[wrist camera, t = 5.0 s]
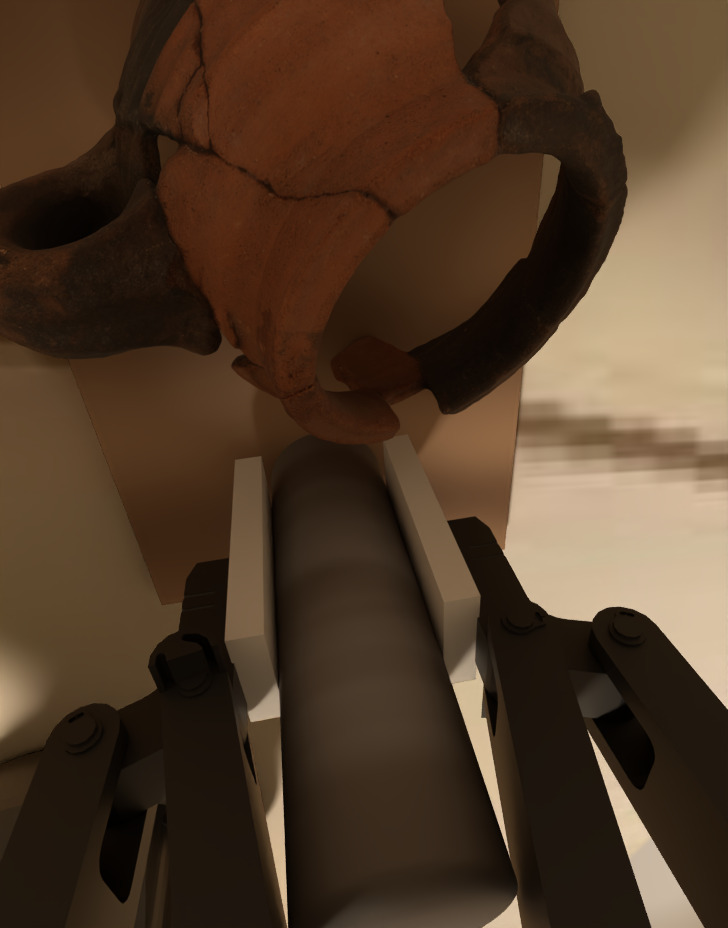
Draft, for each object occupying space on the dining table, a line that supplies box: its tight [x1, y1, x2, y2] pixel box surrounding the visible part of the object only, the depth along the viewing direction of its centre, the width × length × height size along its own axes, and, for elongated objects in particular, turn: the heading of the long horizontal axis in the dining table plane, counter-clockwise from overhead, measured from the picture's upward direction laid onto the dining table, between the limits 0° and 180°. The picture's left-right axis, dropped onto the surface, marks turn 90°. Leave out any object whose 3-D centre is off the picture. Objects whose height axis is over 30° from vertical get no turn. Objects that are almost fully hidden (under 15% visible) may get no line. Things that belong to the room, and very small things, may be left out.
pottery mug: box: [0, 0, 627, 445], centre depth 12 cm, size 12×10×8 cm
